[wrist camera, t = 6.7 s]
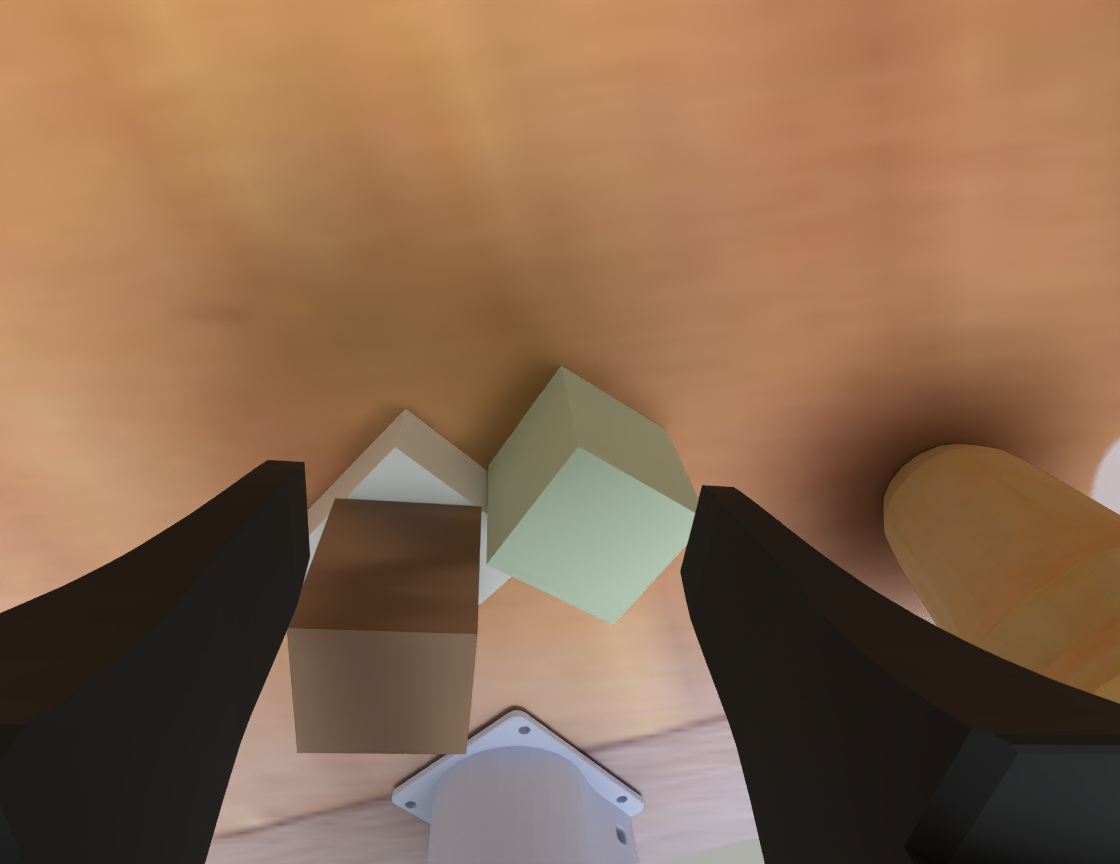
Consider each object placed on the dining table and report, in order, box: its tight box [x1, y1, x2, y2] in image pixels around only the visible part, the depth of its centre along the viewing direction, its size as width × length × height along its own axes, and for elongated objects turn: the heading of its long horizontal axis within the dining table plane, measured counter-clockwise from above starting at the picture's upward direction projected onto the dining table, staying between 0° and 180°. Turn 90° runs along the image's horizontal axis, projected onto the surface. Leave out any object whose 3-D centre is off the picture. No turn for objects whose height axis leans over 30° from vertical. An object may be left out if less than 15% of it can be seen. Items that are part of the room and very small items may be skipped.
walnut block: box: [287, 498, 482, 754], centre depth 20 cm, size 4×4×6 cm
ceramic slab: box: [304, 409, 512, 606], centre depth 24 cm, size 6×6×3 cm
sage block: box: [486, 366, 699, 625], centre depth 22 cm, size 4×4×6 cm
